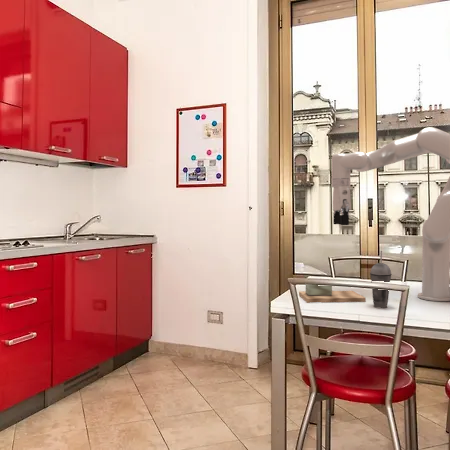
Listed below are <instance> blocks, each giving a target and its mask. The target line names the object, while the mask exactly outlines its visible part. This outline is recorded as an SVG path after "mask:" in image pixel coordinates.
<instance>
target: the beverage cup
mask: <svg viewBox="0 0 450 450" xmlns="http://www.w3.org/2000/svg"><path fill="white" fill-rule="evenodd" d="M379 255H380V257H379V258H380V259H379V260H380V262H376V263H375V264H374V265H373V266H372V267H371V268H370V272H369V275H370V280H371V282H372V281H384V282H390V283H391V280H392V271H391V270H392V269H391V268H390V266H389V265H387V264H386V263H384V262H383V251H382V250H380V254H379ZM371 291H372V303H373V307H374V308H376V309H377V308H378V309H387V308H388V302H389V294H390V290H389V291H388V290H378V289H372V288H371Z"/></svg>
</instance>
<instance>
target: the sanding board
mask: <svg viewBox="0 0 450 450" xmlns="http://www.w3.org/2000/svg"><path fill="white" fill-rule="evenodd" d="M298 296H299V297H301V299H303V300H304V301H305V303H307V304H311V303H310V302H321V303H363V302H364V303H366V297H365V296H364V295H361V294H359V293H357V292H356V291H354V290H332V296H308V295H307V294H306V290H304V291H301V290H299V291H298Z"/></svg>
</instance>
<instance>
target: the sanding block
mask: <svg viewBox="0 0 450 450" xmlns="http://www.w3.org/2000/svg"><path fill="white" fill-rule="evenodd" d="M305 291H306V294H307V295H308V296H332V291H333V285H332V286H318V285H306V284H305Z"/></svg>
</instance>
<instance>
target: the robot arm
mask: <svg viewBox="0 0 450 450" xmlns="http://www.w3.org/2000/svg"><path fill="white" fill-rule="evenodd" d="M429 153H430V154H431V153H432V154H434V155H436V156H439V157H440V158H443V159H445V160H446V162H447V163H448V164H449V165H450V133H449V132H446V131H445V130H442V129H439V128H437V127H432V126H430V127H429V126H428V127H425V128H423V129H421V130H420V131H419V132H418V133H414V134H411V135H407V136H404V137H402V138H397V139H395V140H392V141H390V142H388V144H386V145H384V146H383V147H381V148H380V147H379V148H378V149H375V150H372V151H368V152H365V151H355V152H350V153H335V154H333V155H332V156H331V188H333V191H332V192H333V193H332V210H333V216H332V220H333V225H341V226H349V224H350V223H349V221H350V211H351V209H352V203H351V201H352V200H351V170H354V171H356V172H360V173H363V172H364V173H365V172H369V171H373V170H375V169H379V168H382V167H385V166H389V165H392V164H395V163H398V162H402V161H404V160H408V159H409V160H410V159H411V158H415V157H419V156H423V155H426V154H429ZM429 213H430V214H429V216H428V217H427V219H426V220H425V221H424V222H423V225H422V228H421V229H422V230H421V235H422V236H421V237H422V249H421V250H422V251H421V252H422V253H421V254H422V262H421V263H422V264H421V269H422V270H421V292H418V293H417V298H419V299H421V300H424V301H430V302H431V301H432V302H450V176H449V177H448V179H447V180H446V183H445V185H444V187H443V189H442V191H441V193H440V194H438V197H437V199H436V202H435V204H434V205H433V208H432V209H431V212H429Z"/></svg>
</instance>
